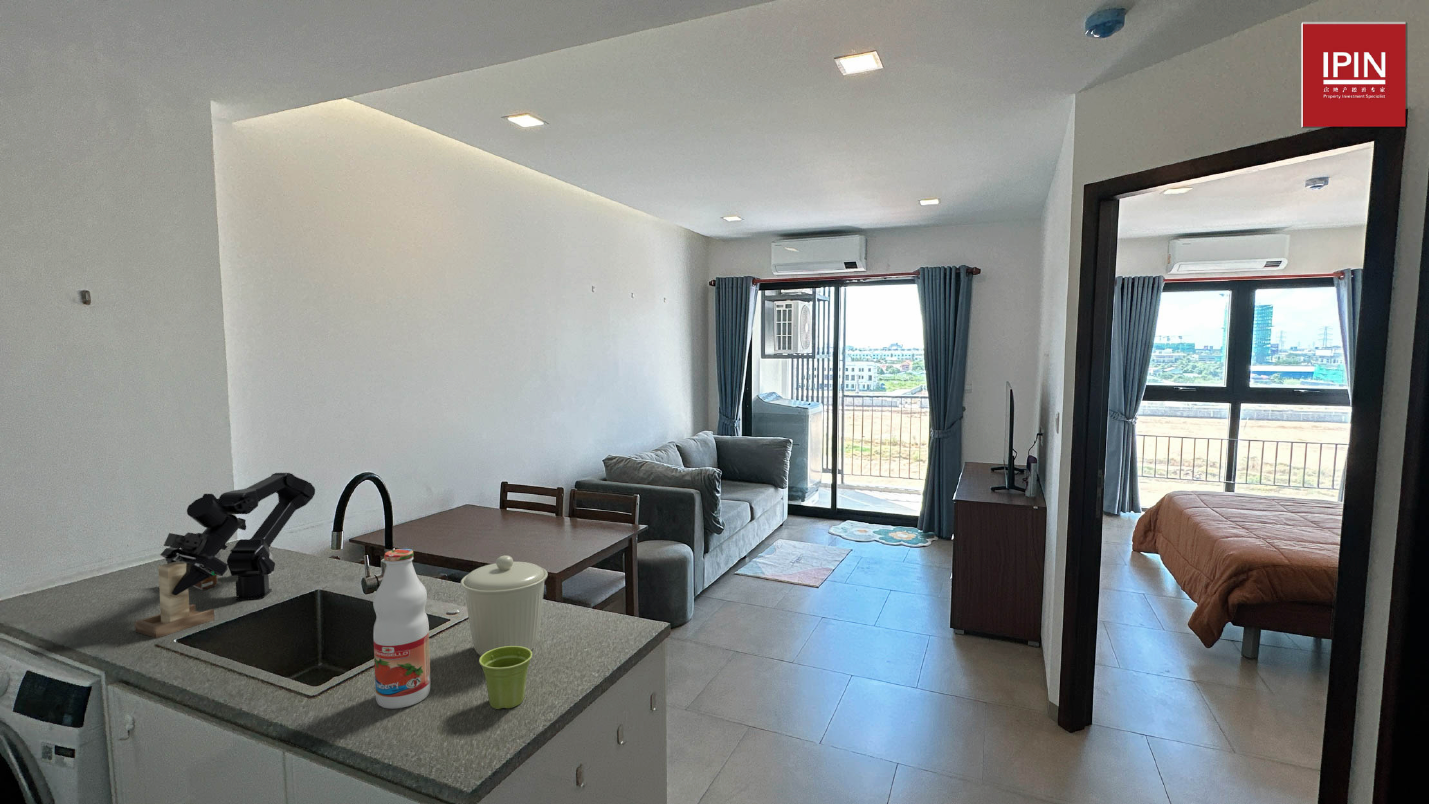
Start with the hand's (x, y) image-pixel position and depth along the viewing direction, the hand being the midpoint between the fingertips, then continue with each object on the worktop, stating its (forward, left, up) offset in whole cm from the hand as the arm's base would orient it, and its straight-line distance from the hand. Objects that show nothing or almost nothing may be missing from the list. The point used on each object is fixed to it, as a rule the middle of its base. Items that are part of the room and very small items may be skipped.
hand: (167, 592), depth 156 cm
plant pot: (-80, +58, -9) cm, 99 cm away
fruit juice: (-61, +51, -9) cm, 80 cm away
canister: (-79, +35, -9) cm, 87 cm away
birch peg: (-1, -1, -7) cm, 8 cm away
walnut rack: (-1, -1, -9) cm, 9 cm away
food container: (+6, -34, -9) cm, 36 cm away
